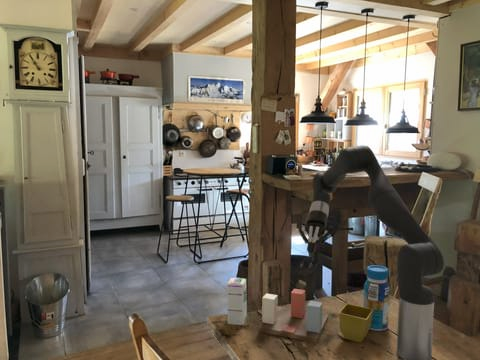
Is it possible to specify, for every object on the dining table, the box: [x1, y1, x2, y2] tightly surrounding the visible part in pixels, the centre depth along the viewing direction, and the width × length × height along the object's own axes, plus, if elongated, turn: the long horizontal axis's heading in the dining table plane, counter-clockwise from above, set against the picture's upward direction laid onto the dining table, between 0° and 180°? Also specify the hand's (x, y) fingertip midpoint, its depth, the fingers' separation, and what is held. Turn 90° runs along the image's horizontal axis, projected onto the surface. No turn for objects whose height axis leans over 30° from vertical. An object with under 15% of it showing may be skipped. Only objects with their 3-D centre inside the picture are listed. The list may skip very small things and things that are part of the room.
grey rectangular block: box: [306, 300, 323, 333], centre depth 132 cm, size 4×4×8 cm
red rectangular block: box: [290, 288, 306, 318], centre depth 143 cm, size 4×4×8 cm
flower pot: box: [338, 303, 373, 344], centre depth 131 cm, size 9×9×9 cm
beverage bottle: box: [362, 264, 391, 332], centre depth 138 cm, size 8×8×20 cm
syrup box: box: [226, 277, 248, 326], centre depth 142 cm, size 6×6×14 cm
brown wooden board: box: [258, 305, 329, 344], centre depth 140 cm, size 19×18×2 cm
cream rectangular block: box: [261, 292, 279, 324], centre depth 138 cm, size 4×4×8 cm
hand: (310, 252), depth 156 cm, fingers closed
